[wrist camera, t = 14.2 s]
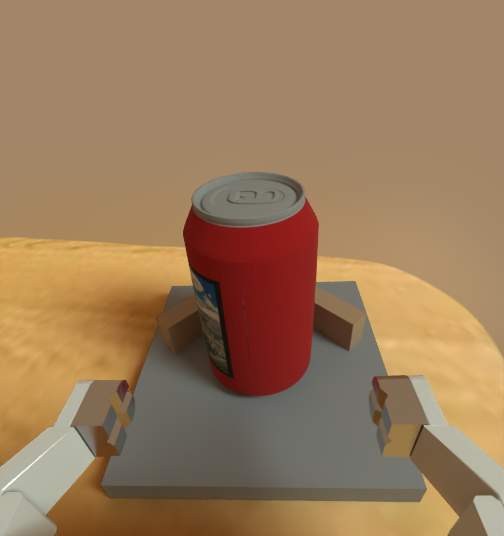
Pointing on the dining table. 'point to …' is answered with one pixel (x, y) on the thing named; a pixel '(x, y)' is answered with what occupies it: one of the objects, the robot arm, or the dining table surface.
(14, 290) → the dining table surface
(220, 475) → the v stop plate
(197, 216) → the beverage can
